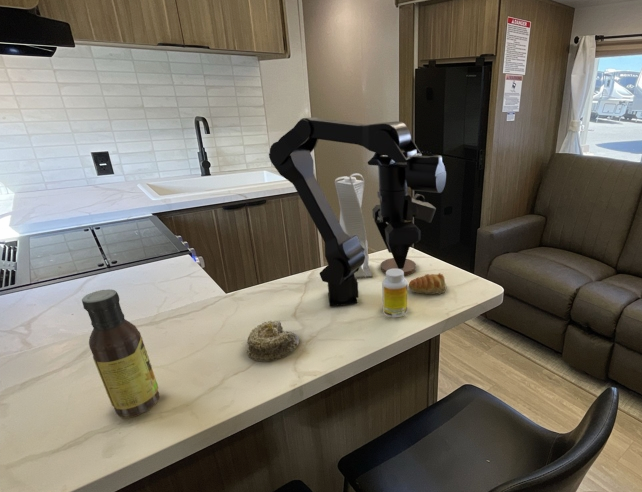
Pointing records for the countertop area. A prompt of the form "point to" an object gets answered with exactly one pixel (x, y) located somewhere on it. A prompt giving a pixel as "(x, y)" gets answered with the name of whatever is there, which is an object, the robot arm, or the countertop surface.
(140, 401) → the sauce bottle
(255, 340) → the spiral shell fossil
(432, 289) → the pastry
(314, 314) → the countertop surface
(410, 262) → the brown round coaster
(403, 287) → the supplement bottle
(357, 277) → the skyscraper
